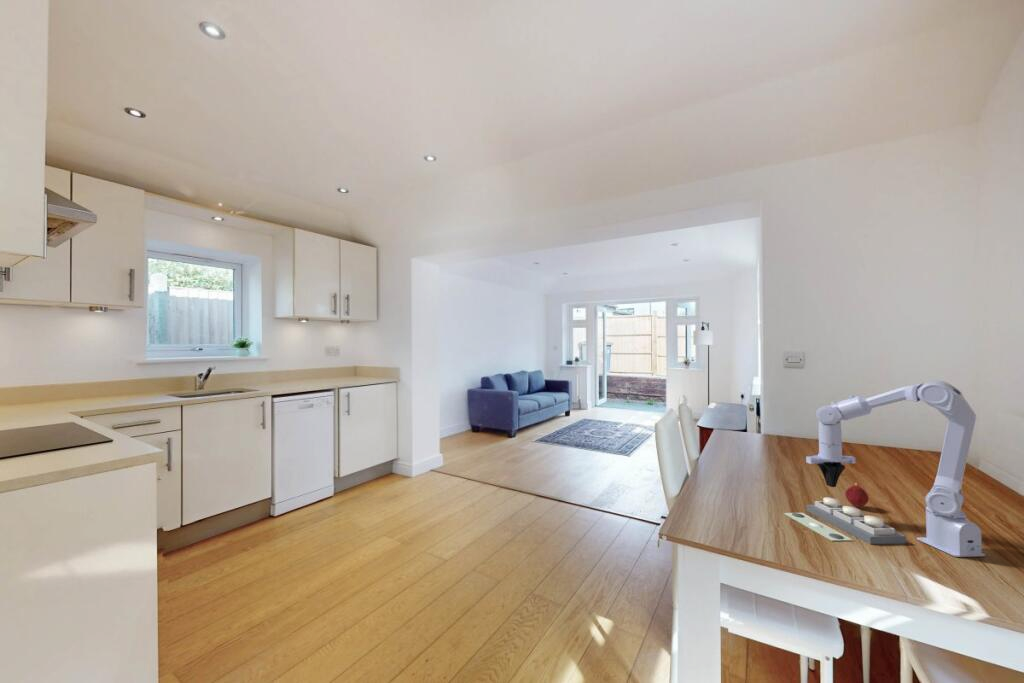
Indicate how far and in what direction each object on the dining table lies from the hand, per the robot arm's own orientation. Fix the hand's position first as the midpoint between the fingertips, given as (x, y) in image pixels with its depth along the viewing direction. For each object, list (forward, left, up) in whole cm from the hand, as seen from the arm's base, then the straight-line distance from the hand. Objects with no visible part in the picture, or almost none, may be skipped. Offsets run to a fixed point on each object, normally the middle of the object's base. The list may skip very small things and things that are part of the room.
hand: (831, 486), depth 124 cm
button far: (0, 0, -6) cm, 6 cm away
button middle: (-7, 0, -6) cm, 9 cm away
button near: (-14, 0, -6) cm, 15 cm away
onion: (+6, -14, -10) cm, 18 cm away
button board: (-7, 0, -9) cm, 12 cm away
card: (-7, +11, -9) cm, 16 cm away
